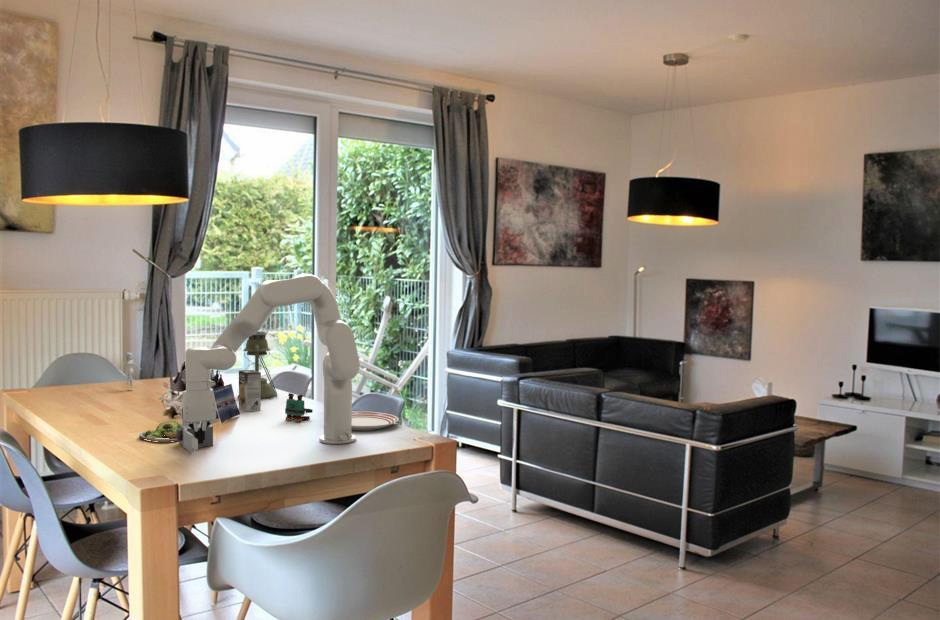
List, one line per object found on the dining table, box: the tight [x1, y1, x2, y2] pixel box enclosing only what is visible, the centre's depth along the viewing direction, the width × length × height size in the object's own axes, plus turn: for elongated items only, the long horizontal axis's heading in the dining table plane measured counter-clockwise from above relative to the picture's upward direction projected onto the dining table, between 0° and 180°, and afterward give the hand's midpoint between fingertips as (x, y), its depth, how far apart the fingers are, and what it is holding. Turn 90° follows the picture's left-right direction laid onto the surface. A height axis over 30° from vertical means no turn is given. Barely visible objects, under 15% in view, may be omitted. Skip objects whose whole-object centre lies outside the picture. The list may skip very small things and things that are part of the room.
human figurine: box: [115, 352, 143, 389], centre depth 362 cm, size 12×4×18 cm, turn 134°
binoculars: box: [284, 392, 314, 423], centre depth 301 cm, size 9×11×10 cm
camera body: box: [176, 422, 214, 448], centre depth 256 cm, size 9×10×7 cm
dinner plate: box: [352, 411, 400, 431], centre depth 292 cm, size 27×27×3 cm
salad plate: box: [138, 420, 180, 443], centre depth 266 cm, size 19×18×5 cm
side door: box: [183, 429, 199, 454], centre depth 245 cm, size 1×13×6 cm, turn 36°
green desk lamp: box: [237, 331, 278, 401], centre depth 351 cm, size 21×18×30 cm
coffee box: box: [238, 369, 262, 412], centre depth 320 cm, size 9×6×16 cm
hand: (199, 442), depth 246 cm, fingers closed
